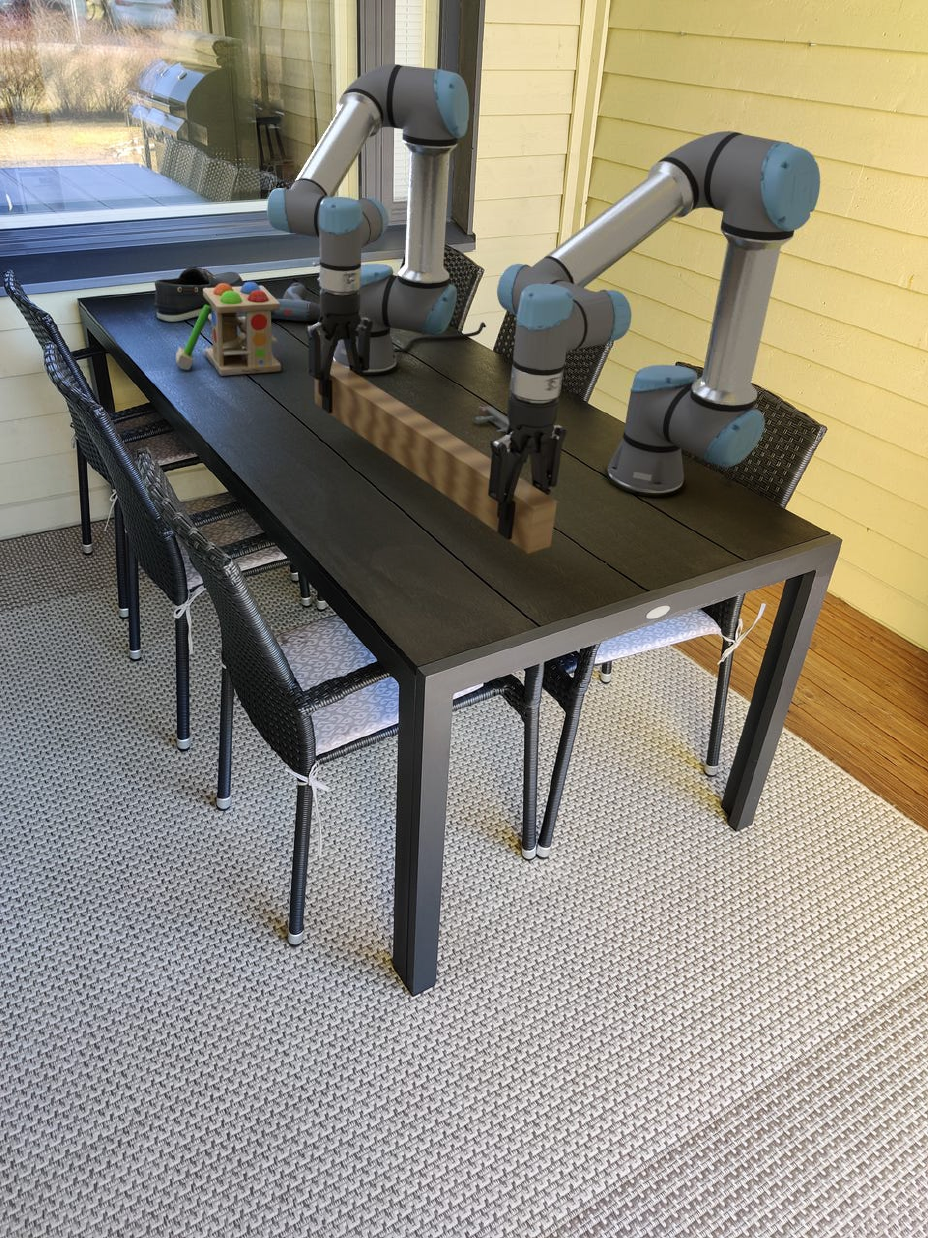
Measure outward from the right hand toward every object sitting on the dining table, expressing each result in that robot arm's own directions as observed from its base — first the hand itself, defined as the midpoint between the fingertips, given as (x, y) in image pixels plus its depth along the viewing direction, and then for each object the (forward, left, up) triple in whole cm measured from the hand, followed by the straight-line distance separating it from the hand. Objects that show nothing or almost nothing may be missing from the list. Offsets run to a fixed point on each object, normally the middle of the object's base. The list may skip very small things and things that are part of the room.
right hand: (517, 531), depth 158 cm
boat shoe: (-59, -138, -8) cm, 150 cm away
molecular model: (-101, -129, -8) cm, 164 cm away
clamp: (-50, -35, -8) cm, 61 cm away
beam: (-9, -27, -1) cm, 28 cm away
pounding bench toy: (-33, -102, -8) cm, 107 cm away
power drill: (-76, -116, -8) cm, 139 cm away
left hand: (-17, -53, 0) cm, 56 cm away
